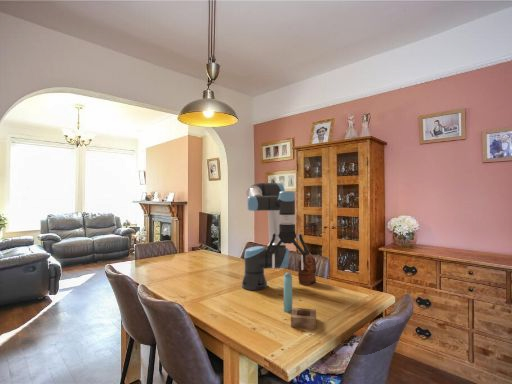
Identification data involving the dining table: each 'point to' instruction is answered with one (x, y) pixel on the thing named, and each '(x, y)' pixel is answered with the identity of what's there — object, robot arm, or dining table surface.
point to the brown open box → (303, 318)
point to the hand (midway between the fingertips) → (287, 268)
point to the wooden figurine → (307, 271)
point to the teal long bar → (287, 292)
